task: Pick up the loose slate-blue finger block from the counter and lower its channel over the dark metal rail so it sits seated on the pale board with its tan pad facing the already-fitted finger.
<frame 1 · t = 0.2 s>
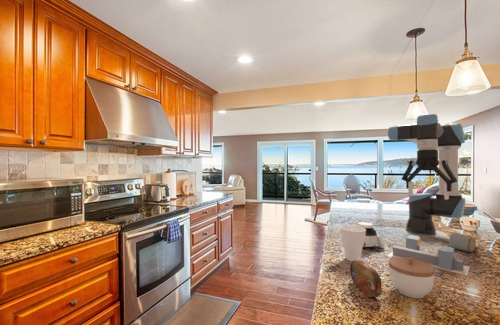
hand: (427, 197, 108), 27 cm above the countertop, tool pointing down, fingers open, 13 cm apart
lidded bowl: (410, 293, 80), on the countertop
grey cylinder: (462, 250, 119), on the countertop
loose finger: (412, 251, 116), on the countertop
rail board: (426, 262, 104), on the countertop
cup: (352, 259, 107), on the countertop
spread jar: (369, 247, 123), on the countertop
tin: (365, 290, 81), on the countertop
fitted finger: (446, 266, 98), resting on rail board
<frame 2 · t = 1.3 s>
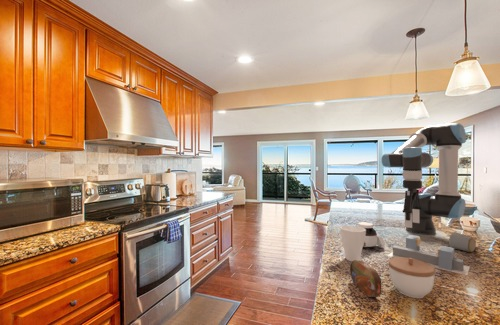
hand: (412, 224, 116), 13 cm above the countertop, tool pointing down, fingers open, 13 cm apart
nothing on the countertop moved.
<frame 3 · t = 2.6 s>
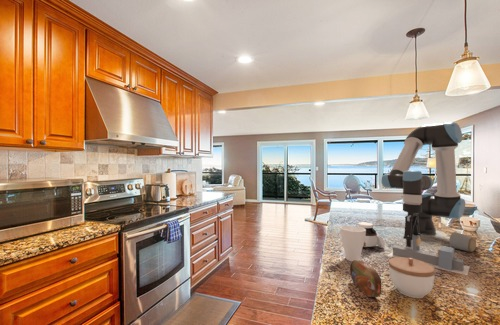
hand: (412, 251, 115), 1 cm above the countertop, tool pointing down, fingers open, 9 cm apart
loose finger: (412, 251, 116), on the countertop, touching gripper
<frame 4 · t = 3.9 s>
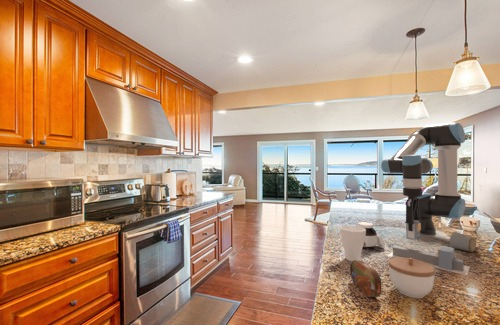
hand: (413, 235, 116), 8 cm above the countertop, tool pointing down, fingers closed on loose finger, 7 cm apart
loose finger: (413, 237, 116), point 7 cm above the countertop, touching gripper
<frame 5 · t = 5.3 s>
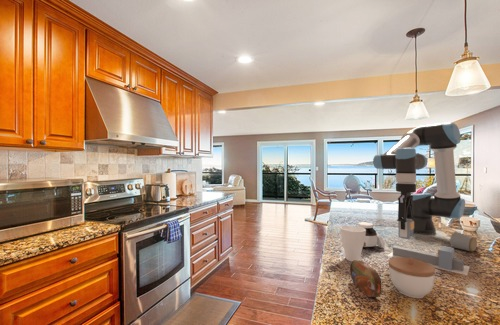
hand: (406, 234, 108), 10 cm above the countertop, tool pointing down, fingers closed on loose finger, 7 cm apart
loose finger: (406, 236, 108), point 9 cm above the countertop, touching gripper
when the fingers open (2 cm above the countertop, at t = 6.9 s): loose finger stays where it is, resting on rail board.
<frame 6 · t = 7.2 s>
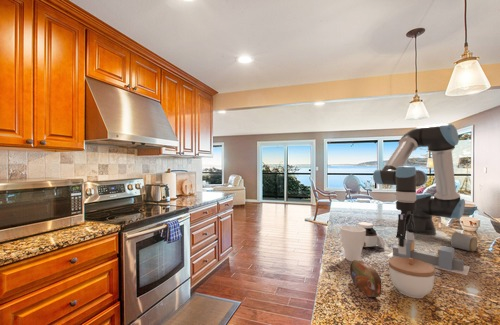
hand: (406, 250, 108), 4 cm above the countertop, tool pointing down, fingers open, 12 cm apart
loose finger: (406, 257, 108), resting on rail board
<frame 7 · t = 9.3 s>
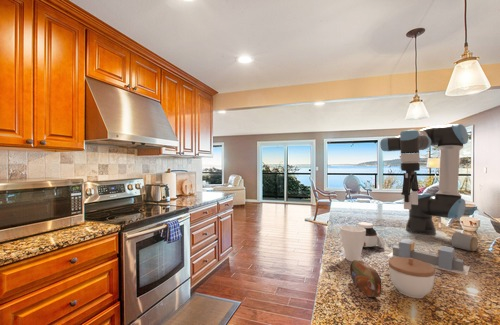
hand: (411, 206, 118), 21 cm above the countertop, tool pointing down, fingers open, 13 cm apart
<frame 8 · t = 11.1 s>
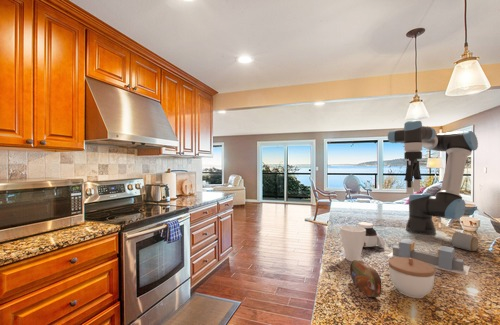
hand: (413, 193, 125), 27 cm above the countertop, tool pointing down, fingers open, 13 cm apart
at the end: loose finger 0.0 cm from the target spot, point 0.5 cm above the countertop; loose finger tilted 0°; the gripper is holding nothing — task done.
